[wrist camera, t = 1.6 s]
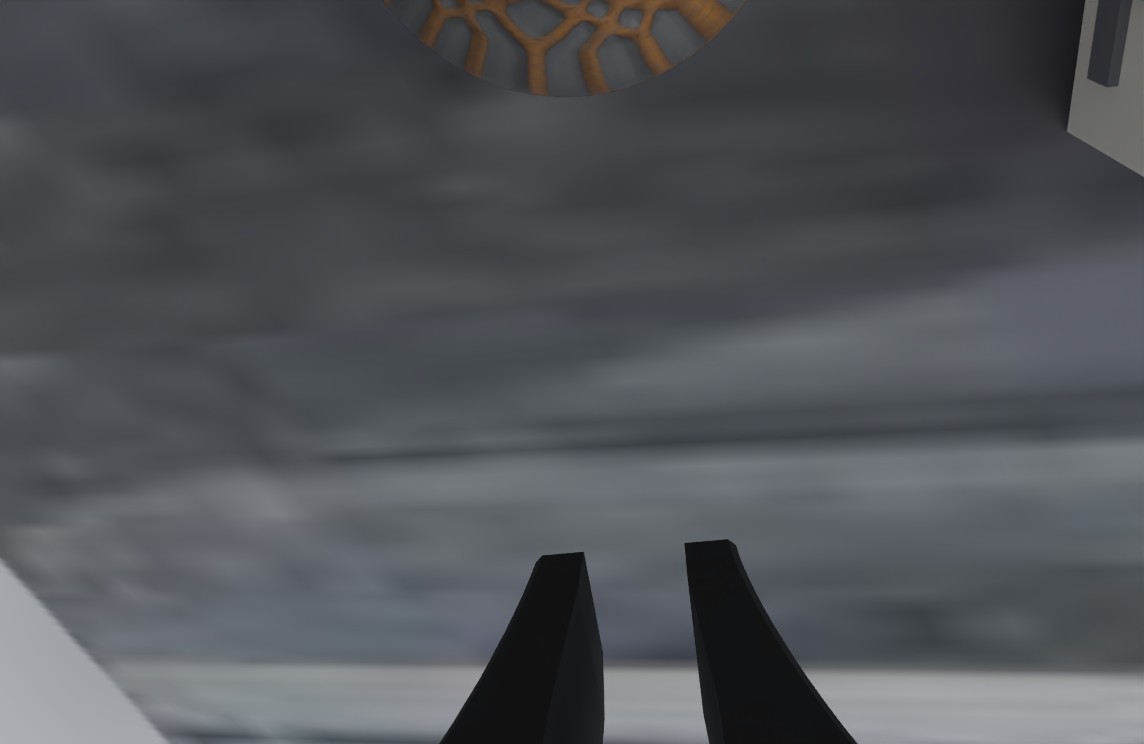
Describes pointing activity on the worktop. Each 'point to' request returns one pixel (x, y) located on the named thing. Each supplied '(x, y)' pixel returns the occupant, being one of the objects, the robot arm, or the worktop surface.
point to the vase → (565, 39)
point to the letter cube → (1111, 81)
